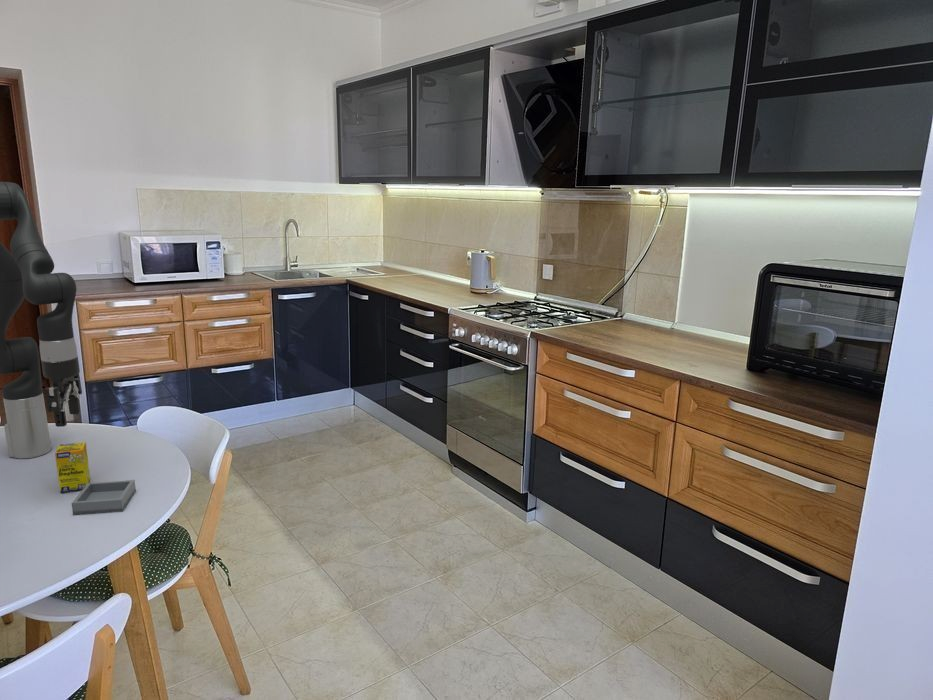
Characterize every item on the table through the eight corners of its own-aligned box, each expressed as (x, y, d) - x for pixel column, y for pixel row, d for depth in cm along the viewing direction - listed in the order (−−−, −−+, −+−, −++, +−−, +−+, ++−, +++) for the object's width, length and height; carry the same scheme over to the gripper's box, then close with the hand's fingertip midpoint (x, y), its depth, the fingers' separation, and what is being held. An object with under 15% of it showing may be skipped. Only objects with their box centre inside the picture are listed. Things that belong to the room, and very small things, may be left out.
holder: (73, 515, 148) (71, 503, 147) (89, 494, 158) (88, 482, 157) (122, 511, 150) (121, 499, 149) (135, 490, 160) (134, 479, 159)
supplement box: (60, 494, 157) (54, 453, 155) (64, 483, 163) (58, 444, 160) (87, 490, 160) (82, 449, 157) (90, 480, 165) (85, 441, 162)
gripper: (54, 349, 159) (63, 410, 163) (28, 364, 145) (38, 431, 149) (87, 348, 160) (95, 409, 164) (64, 363, 147) (73, 429, 151)
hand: (68, 419), depth 157 cm, fingers open, 8 cm apart
